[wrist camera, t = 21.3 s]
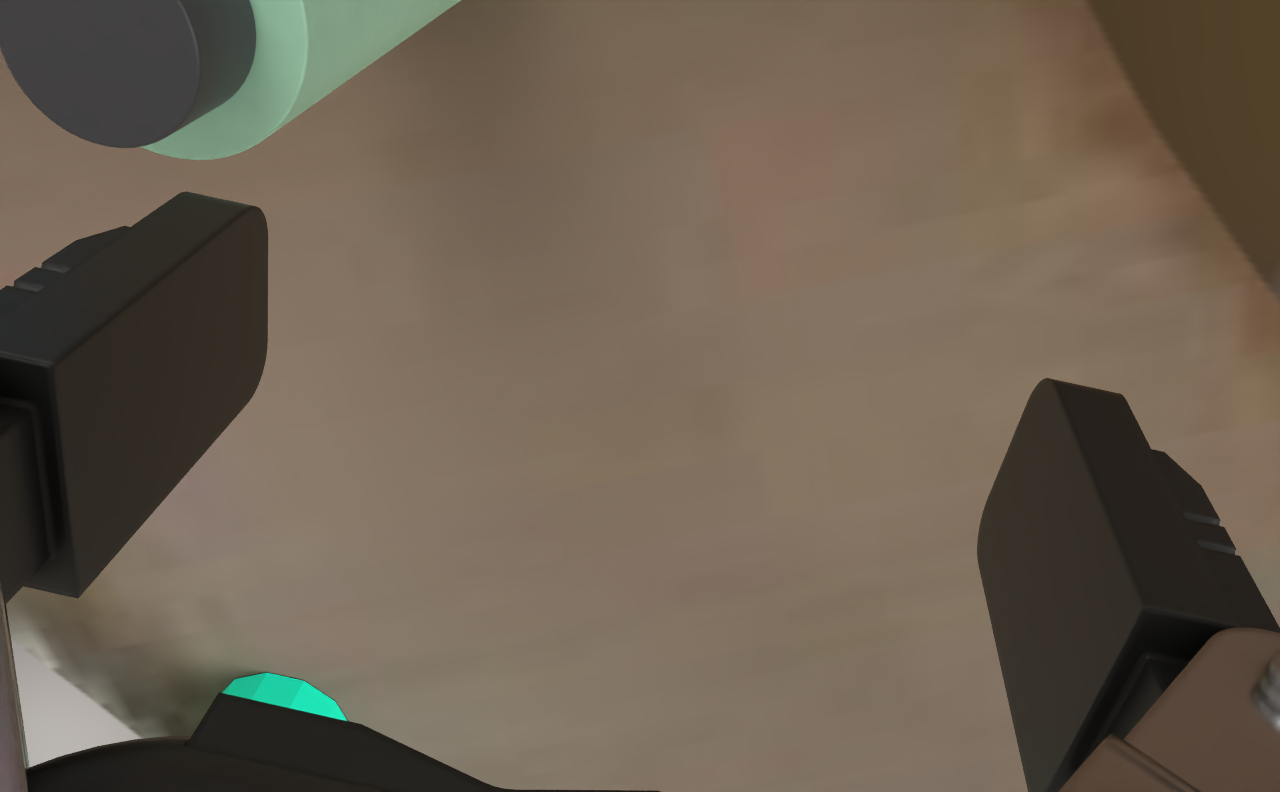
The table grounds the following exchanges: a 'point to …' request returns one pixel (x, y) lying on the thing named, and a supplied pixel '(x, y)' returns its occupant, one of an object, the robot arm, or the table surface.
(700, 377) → the table surface
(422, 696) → the table surface
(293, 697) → the candle
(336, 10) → the bottle
